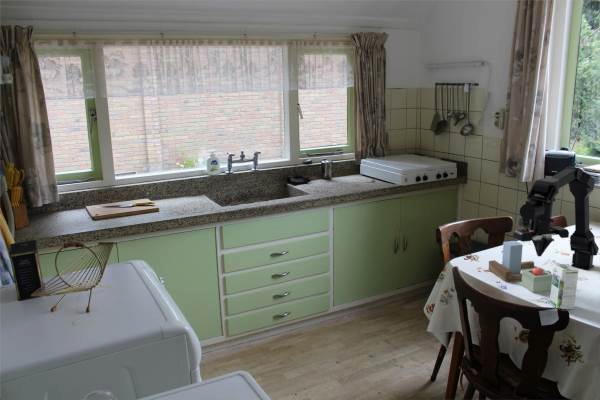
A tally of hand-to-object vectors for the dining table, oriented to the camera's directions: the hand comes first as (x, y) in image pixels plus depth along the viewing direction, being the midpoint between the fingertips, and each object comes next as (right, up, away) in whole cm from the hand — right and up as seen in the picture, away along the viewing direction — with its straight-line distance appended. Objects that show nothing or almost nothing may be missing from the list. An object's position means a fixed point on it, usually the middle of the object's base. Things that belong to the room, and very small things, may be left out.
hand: (539, 256), depth 188 cm
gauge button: (0, -8, +2) cm, 8 cm away
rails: (+1, -9, +17) cm, 19 cm away
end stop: (-8, -9, +15) cm, 20 cm away
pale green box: (+1, -12, +3) cm, 13 cm away
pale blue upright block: (-4, -9, +16) cm, 19 cm away
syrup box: (+2, -16, -12) cm, 20 cm away
